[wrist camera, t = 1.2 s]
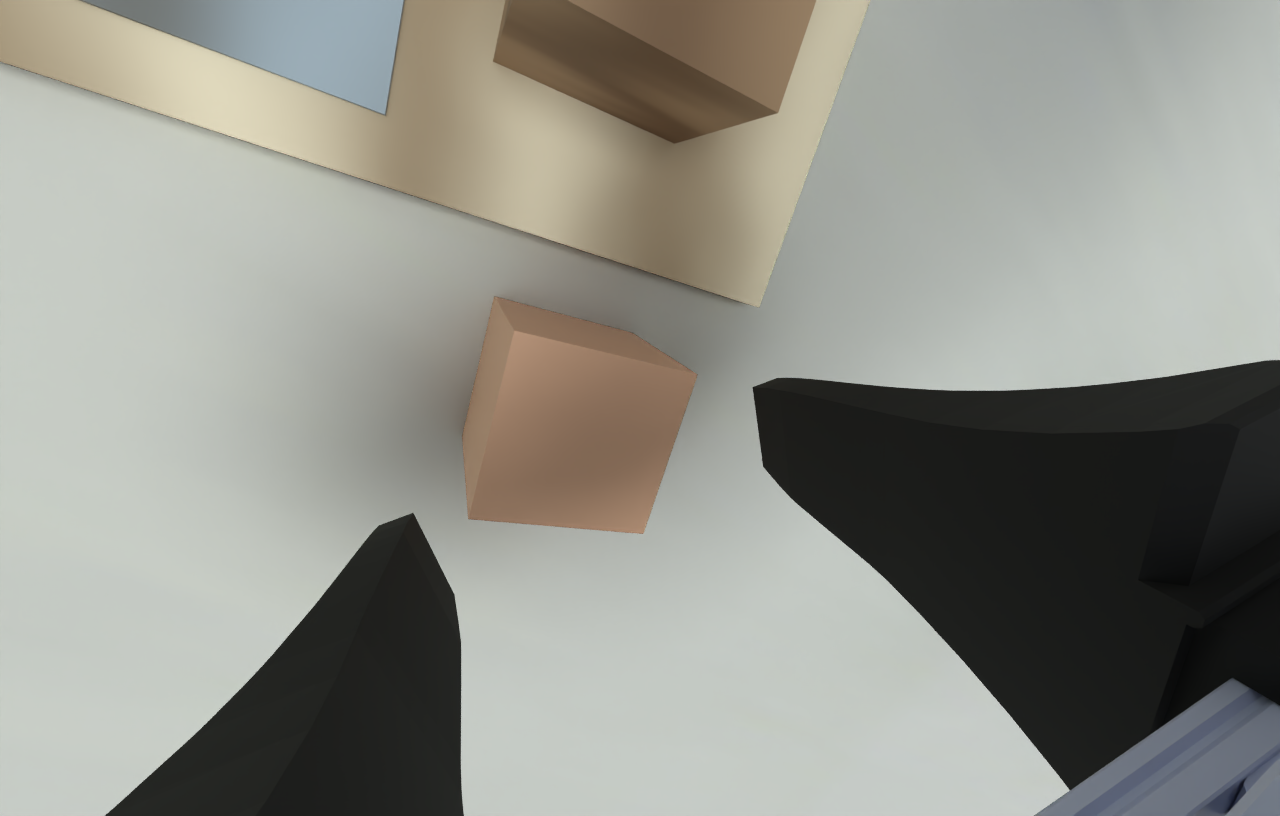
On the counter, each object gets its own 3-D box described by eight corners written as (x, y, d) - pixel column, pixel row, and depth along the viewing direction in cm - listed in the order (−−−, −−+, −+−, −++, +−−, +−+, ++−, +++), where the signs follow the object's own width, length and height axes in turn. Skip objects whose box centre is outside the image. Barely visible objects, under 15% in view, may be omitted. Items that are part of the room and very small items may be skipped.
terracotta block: (631, 332, 17) (697, 374, 12) (594, 455, 18) (643, 533, 14) (494, 296, 15) (514, 330, 11) (462, 435, 16) (468, 519, 12)
